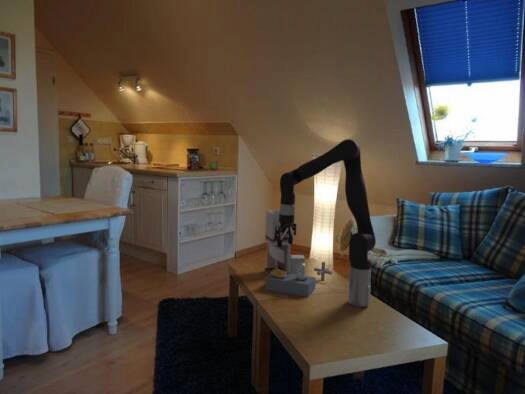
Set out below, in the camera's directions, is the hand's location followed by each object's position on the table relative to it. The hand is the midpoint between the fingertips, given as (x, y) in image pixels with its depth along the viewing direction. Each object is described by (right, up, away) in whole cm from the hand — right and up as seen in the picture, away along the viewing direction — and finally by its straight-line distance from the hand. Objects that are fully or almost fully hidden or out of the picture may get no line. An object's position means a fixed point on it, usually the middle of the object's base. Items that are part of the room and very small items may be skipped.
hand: (284, 245), depth 197 cm
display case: (-3, -19, +26) cm, 32 cm away
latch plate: (-3, -15, +3) cm, 16 cm away
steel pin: (+8, -23, 0) cm, 24 cm away
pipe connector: (+21, -21, +17) cm, 34 cm away
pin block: (+3, -22, +2) cm, 22 cm away
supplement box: (+7, -21, +17) cm, 28 cm away
